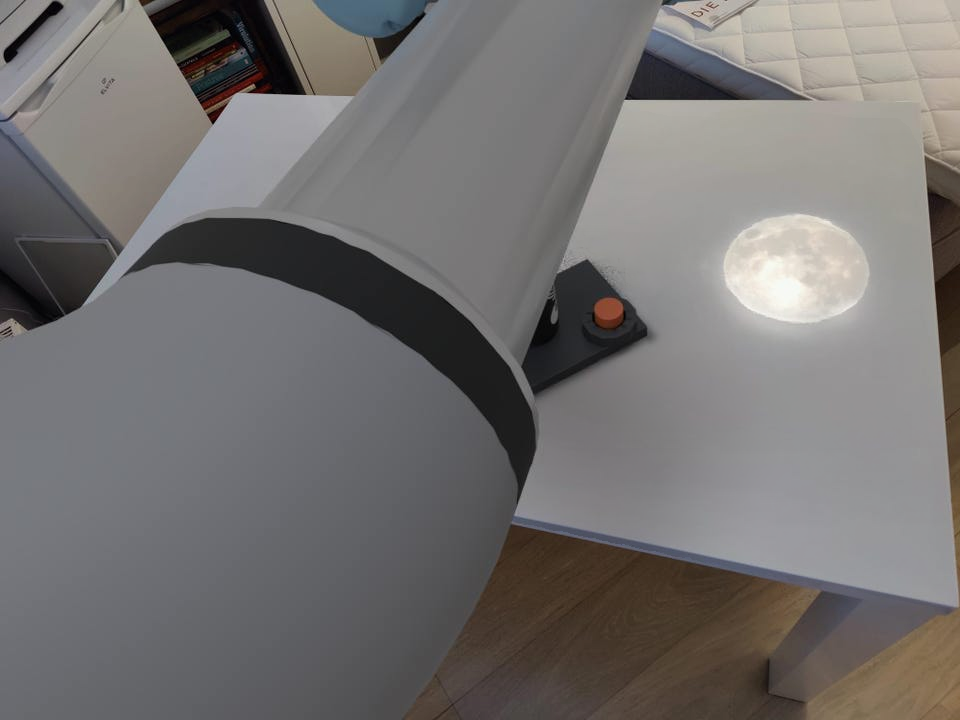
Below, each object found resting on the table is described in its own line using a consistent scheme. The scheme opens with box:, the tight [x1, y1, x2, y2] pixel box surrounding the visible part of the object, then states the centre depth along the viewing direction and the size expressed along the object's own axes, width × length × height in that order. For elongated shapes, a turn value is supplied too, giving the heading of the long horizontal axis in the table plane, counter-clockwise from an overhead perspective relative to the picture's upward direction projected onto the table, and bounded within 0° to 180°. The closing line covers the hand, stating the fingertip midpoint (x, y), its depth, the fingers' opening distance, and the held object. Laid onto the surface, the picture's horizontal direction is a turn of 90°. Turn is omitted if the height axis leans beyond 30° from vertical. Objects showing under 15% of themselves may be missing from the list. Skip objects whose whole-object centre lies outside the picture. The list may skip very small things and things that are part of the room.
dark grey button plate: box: [521, 258, 648, 395], centre depth 83 cm, size 16×14×4 cm
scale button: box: [594, 298, 623, 329], centre depth 79 cm, size 3×3×2 cm
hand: (511, 218), depth 69 cm, fingers open, 13 cm apart
